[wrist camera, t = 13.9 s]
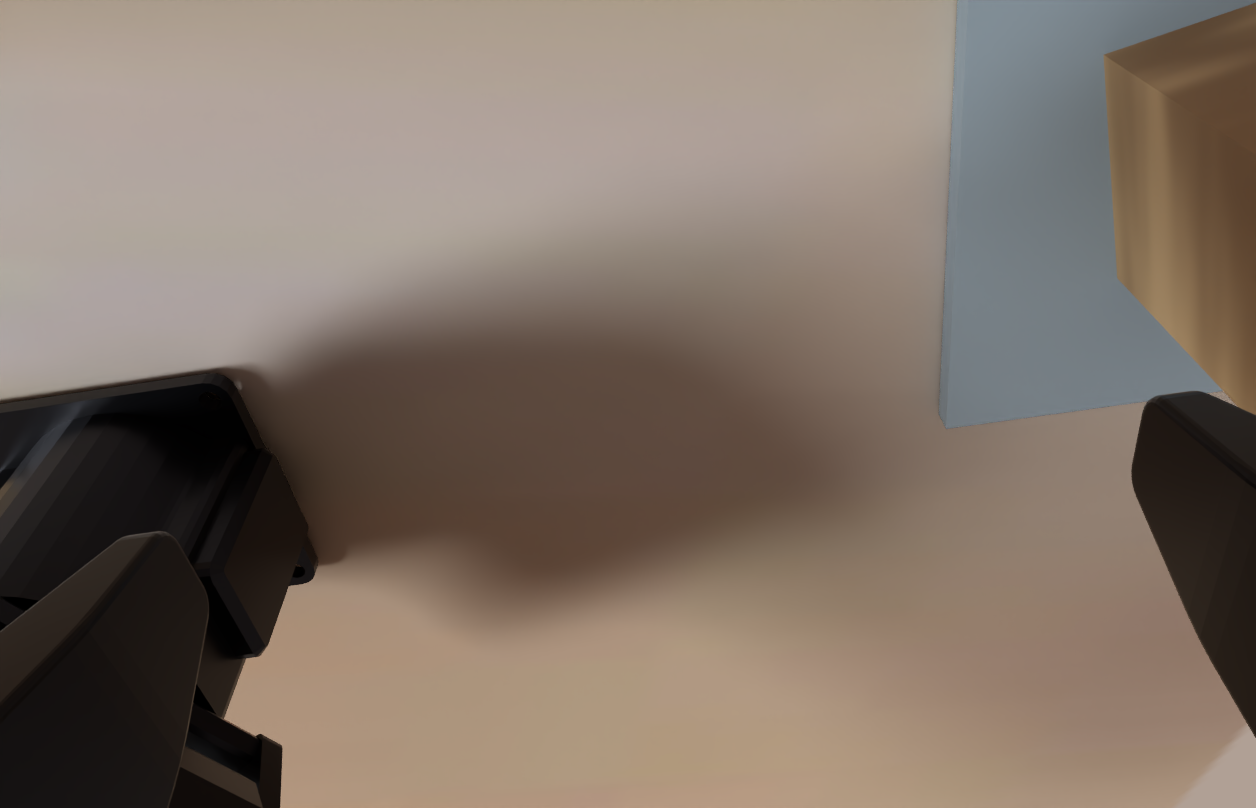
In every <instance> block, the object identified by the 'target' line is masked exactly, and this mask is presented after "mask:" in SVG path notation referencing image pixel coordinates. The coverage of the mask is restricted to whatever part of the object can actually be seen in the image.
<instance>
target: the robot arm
mask: <svg viewBox="0 0 1256 808" xmlns="http://www.w3.org/2000/svg"><path fill="white" fill-rule="evenodd" d="M205 392H212V393H214V394H216V395H218V396H219V397H220V399H221V400H214V399H212V398H210V397H208V395H207V394H206V393H205ZM1131 472H1132V484H1133V488H1134V492H1135V494H1136V497H1137V499H1138V502H1139V504H1140V506H1141V508H1142V511H1143V513H1144V515H1145V518H1146V520H1147V522H1148V525H1149V527H1150V529H1151V532H1152V534H1153V536H1154V538H1155V541H1156V543H1157V545H1158V548H1159V550H1160V552H1161V555H1162V557H1163V559H1164V561H1165V564H1166V566H1167V568H1168V571H1169V573H1170V575H1171V578H1172V580H1173V582H1174V585H1175V587H1176V589H1177V591H1178V594H1179V596H1180V598H1181V601H1182V603H1183V605H1184V608H1185V610H1186V612H1187V614H1188V617H1189V619H1190V621H1191V623H1192V625H1193V627H1194V629H1195V632H1196V634H1197V636H1198V638H1199V640H1200V642H1201V644H1202V645H1203V647H1204V649H1205V651H1206V653H1207V655H1208V656H1209V658H1210V660H1211V662H1212V664H1213V665H1214V667H1215V669H1216V671H1217V672H1218V674H1219V676H1220V677H1221V679H1222V681H1223V683H1224V684H1225V686H1226V688H1227V689H1228V691H1229V693H1230V695H1231V696H1232V698H1233V700H1234V702H1235V703H1236V705H1237V707H1238V708H1239V710H1240V712H1241V714H1242V715H1243V717H1244V719H1245V720H1246V722H1247V724H1248V726H1249V727H1250V729H1251V731H1252V732H1253V734H1254V736H1255V737H1256V415H1255V414H1252V413H1250V412H1248V411H1246V410H1243V409H1241V408H1239V407H1236V406H1234V405H1232V404H1230V403H1227V402H1225V401H1223V400H1221V399H1218V398H1216V397H1214V396H1212V395H1209V394H1207V393H1204V392H1201V391H1187V392H1179V393H1172V394H1165V395H1158V396H1155V397H1153V398H1151V399H1150V400H1149V401H1148V402H1147V403H1146V405H1145V407H1144V410H1143V413H1142V418H1141V423H1140V428H1139V433H1138V438H1137V443H1136V448H1135V453H1134V458H1133V463H1132V470H1131ZM307 532H308V525H307V522H306V520H305V518H304V516H303V514H302V512H301V510H300V508H299V505H298V503H297V501H296V499H295V497H294V495H293V493H292V491H291V488H290V486H289V484H288V482H287V480H286V478H285V476H284V474H283V471H282V469H281V467H280V465H279V463H278V461H277V459H276V457H275V455H274V454H272V453H271V452H270V451H269V450H268V449H266V448H265V446H264V444H263V442H262V440H261V438H260V436H259V434H258V432H257V429H256V427H255V425H254V423H253V421H252V419H251V417H250V415H249V413H248V411H247V408H246V406H245V404H244V402H243V400H242V398H241V396H240V394H239V392H238V390H237V388H236V386H235V385H234V384H233V382H232V381H230V380H229V379H228V378H226V377H225V376H222V375H219V374H210V373H207V374H200V375H193V376H187V377H180V378H173V379H166V380H160V381H153V382H146V383H139V384H133V385H126V386H119V387H112V388H106V389H99V390H92V391H86V392H79V393H72V394H65V395H59V396H52V397H45V398H38V399H32V400H25V401H18V402H11V403H5V404H0V808H280V796H281V771H282V745H280V744H278V743H276V742H275V741H273V740H271V739H269V738H267V737H265V736H264V735H262V734H259V735H257V736H254V735H252V734H250V733H249V732H247V731H245V730H243V729H241V728H239V727H238V726H236V725H234V724H232V723H230V722H228V721H227V720H225V719H224V717H225V714H226V711H227V709H228V706H229V703H230V700H231V698H232V695H233V692H234V690H235V687H236V684H237V681H238V679H239V676H240V673H241V671H242V668H243V665H244V663H245V660H246V658H252V657H258V656H260V655H261V654H262V653H263V651H264V650H265V649H266V647H267V646H268V643H269V641H270V638H271V635H272V632H273V629H274V626H275V624H276V621H277V618H278V615H279V612H280V609H281V606H282V604H283V601H284V598H285V595H286V592H287V589H288V586H291V585H299V584H304V583H307V582H309V581H311V580H312V579H313V577H314V575H315V572H316V569H317V566H318V558H317V556H316V553H315V551H314V549H313V547H312V545H311V543H310V541H309V539H308V537H307ZM296 564H298V565H300V566H302V567H297V566H296Z"/></svg>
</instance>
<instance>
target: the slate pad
mask: <svg viewBox="0 0 1256 808" xmlns="http://www.w3.org/2000/svg"><path fill="white" fill-rule="evenodd" d="M1253 3H1256V0H958V1H957V23H956V45H955V67H954V89H953V111H952V133H951V156H950V178H949V200H948V222H947V244H946V266H945V288H944V310H943V333H942V355H941V377H940V399H939V415H940V417H941V420H942V422H943V424H944V426H945V428H946V429H949V428H956V427H964V426H971V425H978V424H985V423H993V422H1000V421H1007V420H1014V419H1022V418H1029V417H1036V416H1044V415H1051V414H1058V413H1065V412H1073V411H1080V410H1087V409H1095V408H1102V407H1109V406H1116V405H1124V404H1131V403H1138V402H1145V401H1149V400H1150V399H1151V398H1153V397H1155V396H1158V395H1165V394H1172V393H1179V392H1187V391H1201V392H1204V393H1211V392H1218V391H1223V390H1222V389H1221V388H1220V387H1219V386H1218V385H1217V384H1216V383H1215V382H1214V381H1213V380H1212V378H1211V377H1210V376H1209V375H1208V374H1207V373H1206V372H1205V371H1204V370H1203V369H1202V368H1201V367H1200V366H1199V365H1198V364H1197V363H1196V361H1195V360H1194V359H1193V358H1192V357H1191V356H1190V355H1189V354H1188V353H1187V352H1186V351H1185V350H1184V349H1183V348H1182V347H1181V345H1180V344H1179V343H1178V342H1177V341H1176V340H1175V339H1174V338H1173V337H1172V336H1171V335H1170V334H1169V333H1168V332H1167V331H1166V330H1165V328H1164V327H1163V326H1162V325H1161V324H1160V323H1159V322H1158V321H1157V320H1156V319H1155V318H1154V317H1153V316H1152V315H1151V314H1150V313H1149V311H1148V310H1147V309H1146V308H1145V307H1144V306H1143V305H1142V304H1141V303H1140V302H1139V301H1138V300H1137V299H1136V298H1135V297H1134V295H1133V294H1132V293H1131V292H1130V291H1129V290H1128V289H1127V288H1126V287H1125V286H1124V285H1123V284H1122V283H1121V282H1120V281H1119V280H1118V278H1117V267H1116V250H1115V234H1114V218H1113V202H1112V186H1111V169H1110V153H1109V137H1108V121H1107V104H1106V88H1105V72H1104V56H1103V55H1104V54H1107V53H1110V52H1113V51H1116V50H1119V49H1122V48H1125V47H1128V46H1131V45H1134V44H1136V43H1139V42H1142V41H1145V40H1148V39H1151V38H1154V37H1157V36H1160V35H1163V34H1166V33H1169V32H1172V31H1174V30H1177V29H1180V28H1183V27H1186V26H1189V25H1192V24H1195V23H1198V22H1201V21H1204V20H1207V19H1210V18H1212V17H1215V16H1218V15H1221V14H1224V13H1227V12H1230V11H1233V10H1236V9H1239V8H1242V7H1245V6H1248V5H1251V4H1253Z"/></svg>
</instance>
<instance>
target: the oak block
mask: <svg viewBox="0 0 1256 808" xmlns="http://www.w3.org/2000/svg"><path fill="white" fill-rule="evenodd" d="M1103 56H1104V72H1105V88H1106V104H1107V121H1108V137H1109V153H1110V169H1111V186H1112V202H1113V218H1114V234H1115V250H1116V267H1117V278H1118V280H1119V281H1120V282H1121V283H1122V284H1123V285H1124V286H1125V287H1126V288H1127V289H1128V290H1129V291H1130V292H1131V293H1132V294H1133V295H1134V297H1135V298H1136V299H1137V300H1138V301H1139V302H1140V303H1141V304H1142V305H1143V306H1144V307H1145V308H1146V309H1147V310H1148V311H1149V313H1150V314H1151V315H1152V316H1153V317H1154V318H1155V319H1156V320H1157V321H1158V322H1159V323H1160V324H1161V325H1162V326H1163V327H1164V328H1165V330H1166V331H1167V332H1168V333H1169V334H1170V335H1171V336H1172V337H1173V338H1174V339H1175V340H1176V341H1177V342H1178V343H1179V344H1180V345H1181V347H1182V348H1183V349H1184V350H1185V351H1186V352H1187V353H1188V354H1189V355H1190V356H1191V357H1192V358H1193V359H1194V360H1195V361H1196V363H1197V364H1198V365H1199V366H1200V367H1201V368H1202V369H1203V370H1204V371H1205V372H1206V373H1207V374H1208V375H1209V376H1210V377H1211V378H1212V380H1213V381H1214V382H1215V383H1216V384H1217V385H1218V386H1219V387H1220V388H1221V389H1222V390H1223V391H1224V392H1225V393H1226V394H1227V395H1228V397H1229V398H1230V399H1231V400H1232V401H1233V402H1234V403H1235V404H1236V405H1237V406H1238V407H1239V408H1241V409H1243V410H1246V411H1248V412H1250V413H1252V414H1255V415H1256V3H1253V4H1251V5H1248V6H1245V7H1242V8H1239V9H1236V10H1233V11H1230V12H1227V13H1224V14H1221V15H1218V16H1215V17H1212V18H1210V19H1207V20H1204V21H1201V22H1198V23H1195V24H1192V25H1189V26H1186V27H1183V28H1180V29H1177V30H1174V31H1172V32H1169V33H1166V34H1163V35H1160V36H1157V37H1154V38H1151V39H1148V40H1145V41H1142V42H1139V43H1136V44H1134V45H1131V46H1128V47H1125V48H1122V49H1119V50H1116V51H1113V52H1110V53H1107V54H1104V55H1103Z"/></svg>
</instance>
